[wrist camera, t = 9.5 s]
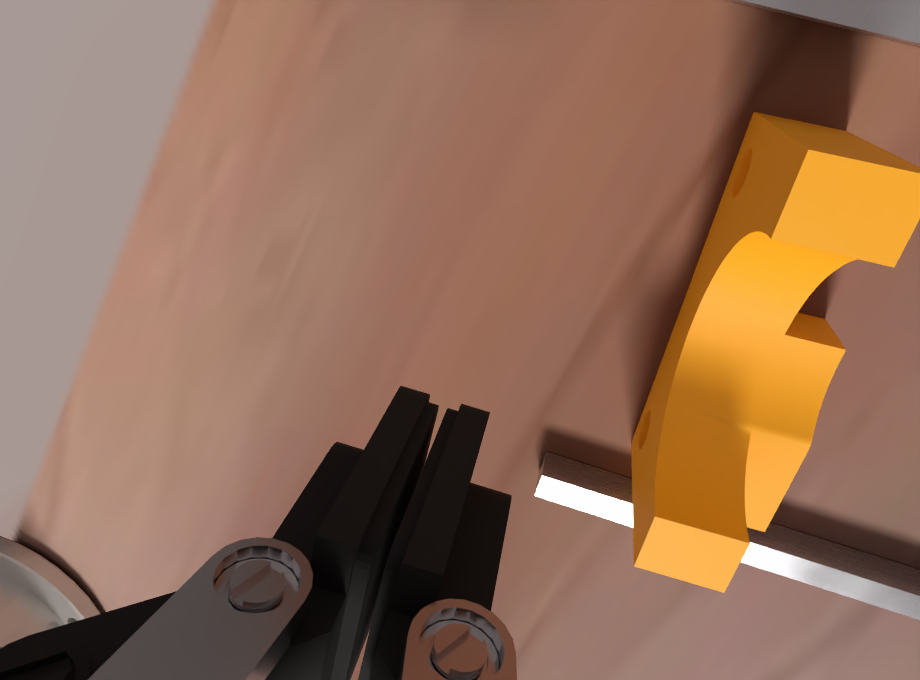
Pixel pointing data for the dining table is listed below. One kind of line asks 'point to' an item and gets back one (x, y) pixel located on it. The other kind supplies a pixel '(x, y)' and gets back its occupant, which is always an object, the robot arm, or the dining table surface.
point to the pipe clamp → (757, 341)
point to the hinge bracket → (778, 548)
